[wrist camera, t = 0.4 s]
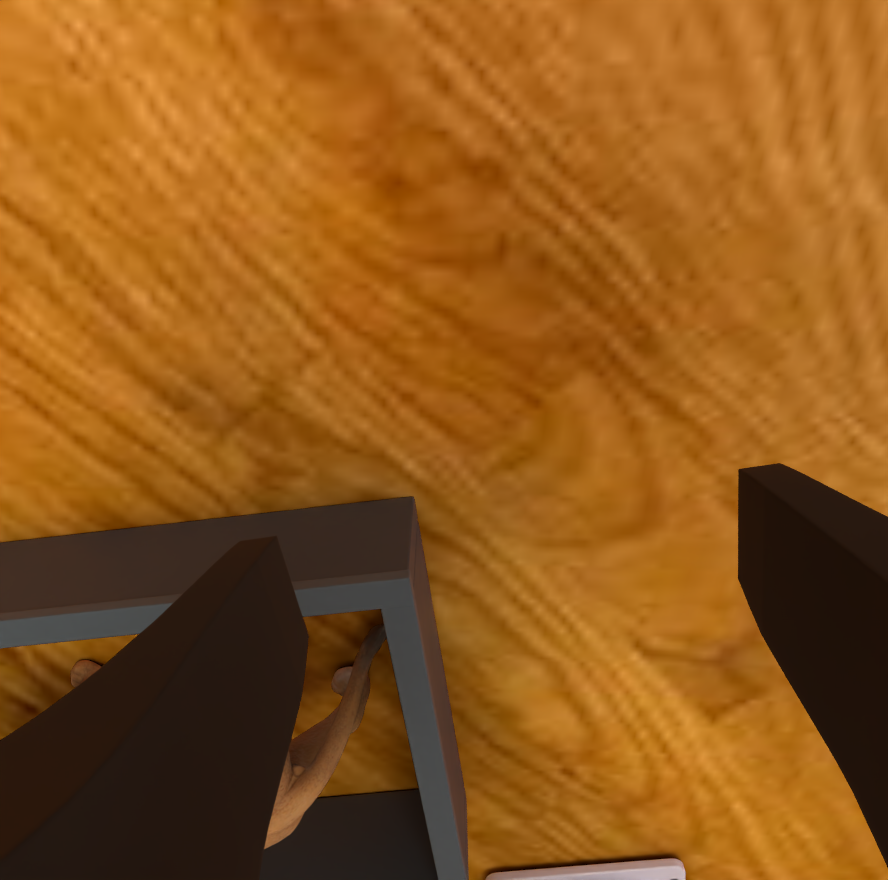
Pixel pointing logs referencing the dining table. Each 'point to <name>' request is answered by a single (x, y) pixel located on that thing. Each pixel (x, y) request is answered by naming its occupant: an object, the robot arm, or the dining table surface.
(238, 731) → the robot arm
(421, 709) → the crate
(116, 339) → the dining table surface
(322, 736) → the lion figurine
